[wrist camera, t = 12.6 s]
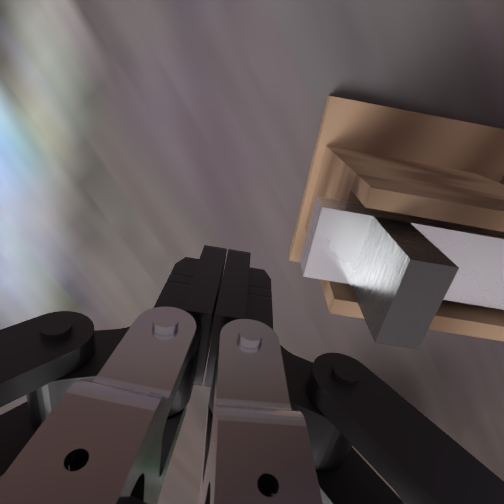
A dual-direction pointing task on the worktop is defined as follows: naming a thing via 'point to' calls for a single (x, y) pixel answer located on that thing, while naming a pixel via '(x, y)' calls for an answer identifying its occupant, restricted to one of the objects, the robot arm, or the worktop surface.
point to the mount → (408, 186)
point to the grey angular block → (402, 265)
